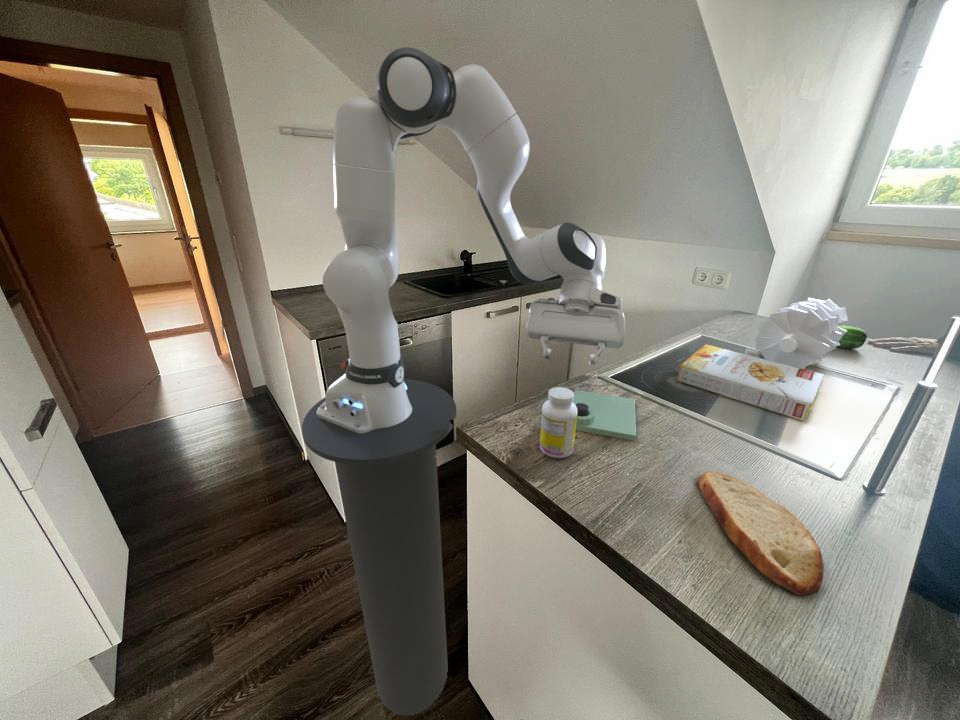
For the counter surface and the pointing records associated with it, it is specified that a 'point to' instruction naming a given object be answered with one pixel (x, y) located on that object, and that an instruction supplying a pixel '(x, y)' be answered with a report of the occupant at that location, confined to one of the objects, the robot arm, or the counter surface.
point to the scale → (607, 415)
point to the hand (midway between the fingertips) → (569, 360)
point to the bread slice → (765, 533)
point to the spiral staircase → (801, 333)
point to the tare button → (582, 409)
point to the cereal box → (753, 380)
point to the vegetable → (852, 337)
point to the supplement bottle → (558, 423)
